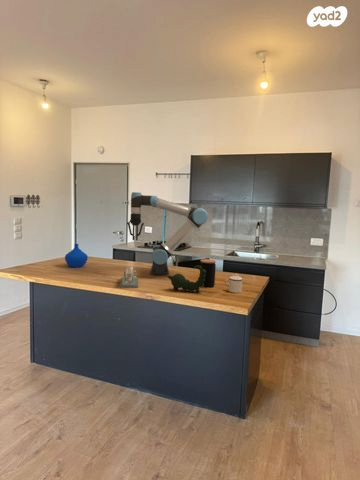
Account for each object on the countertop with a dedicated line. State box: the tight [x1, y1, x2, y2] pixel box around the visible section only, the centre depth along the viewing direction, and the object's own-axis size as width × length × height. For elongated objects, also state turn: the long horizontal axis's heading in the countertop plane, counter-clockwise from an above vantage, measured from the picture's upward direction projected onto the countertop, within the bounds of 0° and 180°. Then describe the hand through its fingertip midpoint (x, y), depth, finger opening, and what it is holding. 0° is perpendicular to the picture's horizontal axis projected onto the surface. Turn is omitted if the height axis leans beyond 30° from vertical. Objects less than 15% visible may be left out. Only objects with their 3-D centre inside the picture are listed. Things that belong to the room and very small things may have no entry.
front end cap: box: [122, 275, 137, 285], centre depth 220 cm, size 8×3×6 cm, turn 97°
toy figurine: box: [166, 265, 206, 293], centre depth 215 cm, size 9×19×25 cm
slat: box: [126, 266, 134, 283], centre depth 229 cm, size 4×22×6 cm, turn 7°
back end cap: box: [123, 269, 137, 279], centre depth 238 cm, size 8×3×6 cm, turn 97°
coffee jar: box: [199, 258, 217, 288], centre depth 231 cm, size 11×11×18 cm
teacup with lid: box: [223, 273, 244, 294], centre depth 221 cm, size 12×9×12 cm
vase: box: [64, 243, 89, 268], centre depth 279 cm, size 18×18×19 cm
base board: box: [119, 277, 139, 289], centre depth 229 cm, size 12×22×2 cm, turn 7°
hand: (134, 244), depth 249 cm, fingers closed
